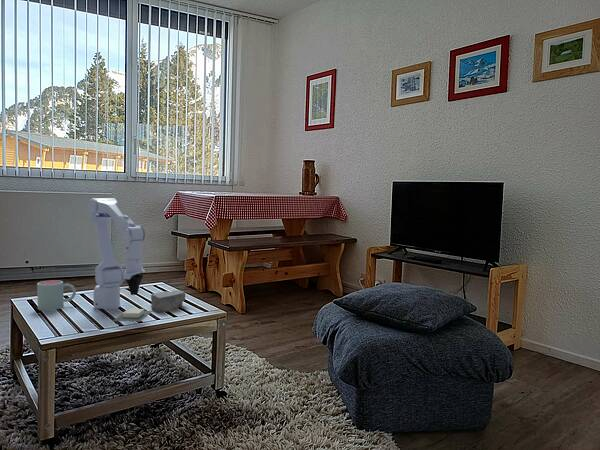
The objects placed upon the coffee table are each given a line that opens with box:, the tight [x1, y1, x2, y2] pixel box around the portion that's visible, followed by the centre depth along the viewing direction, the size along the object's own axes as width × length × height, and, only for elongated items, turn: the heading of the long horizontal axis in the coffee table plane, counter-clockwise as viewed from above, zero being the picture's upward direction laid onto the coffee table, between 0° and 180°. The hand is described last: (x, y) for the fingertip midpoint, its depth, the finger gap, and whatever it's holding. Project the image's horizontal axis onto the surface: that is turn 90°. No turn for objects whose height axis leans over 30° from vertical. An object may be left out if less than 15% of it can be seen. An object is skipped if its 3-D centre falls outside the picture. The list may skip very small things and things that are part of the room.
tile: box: [121, 308, 145, 318], centre depth 180 cm, size 6×2×6 cm
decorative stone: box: [150, 289, 186, 314], centre depth 191 cm, size 15×7×10 cm
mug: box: [36, 279, 77, 312], centre depth 192 cm, size 14×9×10 cm
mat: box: [112, 310, 153, 323], centre depth 180 cm, size 10×14×1 cm
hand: (134, 294), depth 180 cm, fingers closed
